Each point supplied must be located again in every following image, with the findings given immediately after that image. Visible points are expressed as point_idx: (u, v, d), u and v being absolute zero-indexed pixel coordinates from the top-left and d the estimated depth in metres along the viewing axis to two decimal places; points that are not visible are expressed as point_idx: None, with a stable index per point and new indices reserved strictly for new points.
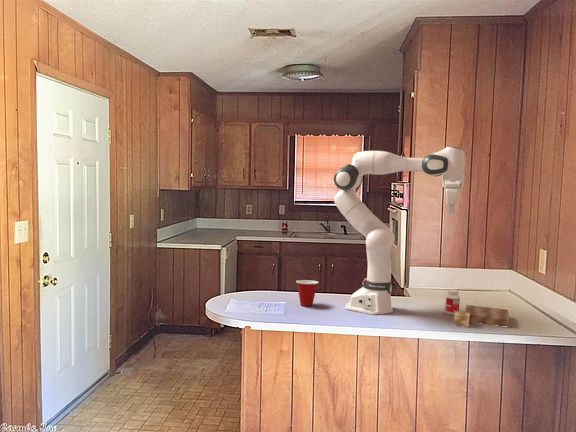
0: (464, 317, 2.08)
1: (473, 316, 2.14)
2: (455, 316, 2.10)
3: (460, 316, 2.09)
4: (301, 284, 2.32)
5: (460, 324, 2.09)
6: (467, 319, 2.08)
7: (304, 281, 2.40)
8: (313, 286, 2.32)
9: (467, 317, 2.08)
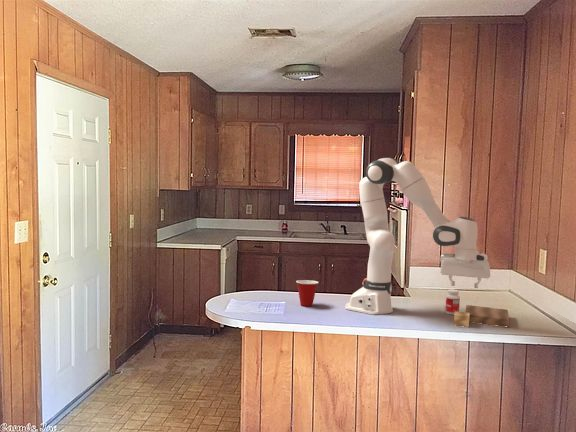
0: (464, 317, 2.08)
1: (473, 316, 2.14)
2: (455, 316, 2.09)
3: (460, 316, 2.09)
4: (301, 284, 2.32)
5: (460, 324, 2.09)
6: (467, 319, 2.08)
7: (304, 281, 2.40)
8: (313, 286, 2.32)
9: (467, 317, 2.08)
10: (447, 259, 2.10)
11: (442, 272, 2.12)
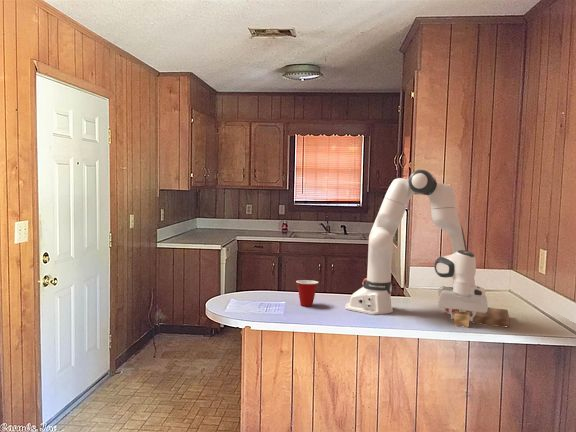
0: (464, 317, 2.08)
1: None
2: (455, 316, 2.09)
3: (460, 316, 2.09)
4: (301, 284, 2.32)
5: (460, 324, 2.09)
6: (467, 319, 2.08)
7: (304, 281, 2.40)
8: (313, 286, 2.32)
9: (467, 317, 2.08)
10: (445, 292, 2.12)
11: (440, 305, 2.13)
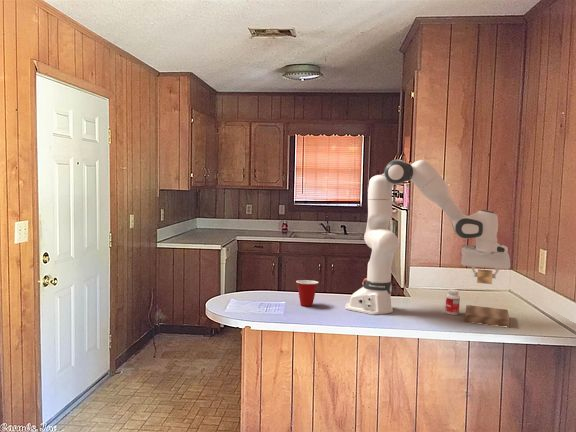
0: (487, 274, 2.14)
1: (473, 316, 2.14)
2: (478, 273, 2.15)
3: (483, 273, 2.14)
4: (301, 284, 2.32)
5: (483, 281, 2.14)
6: (490, 275, 2.13)
7: (304, 281, 2.40)
8: (313, 286, 2.32)
9: (490, 273, 2.13)
10: (468, 251, 2.17)
11: (463, 263, 2.18)
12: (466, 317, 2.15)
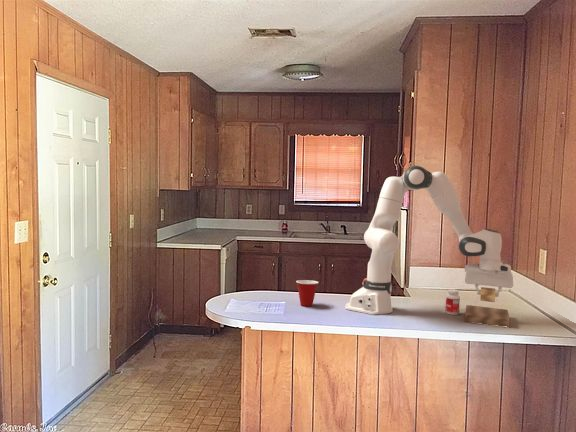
0: (490, 292, 2.17)
1: (473, 316, 2.14)
2: (482, 291, 2.18)
3: (486, 291, 2.17)
4: (301, 284, 2.32)
5: (486, 299, 2.17)
6: (493, 294, 2.16)
7: (304, 281, 2.40)
8: (313, 286, 2.32)
9: (493, 292, 2.16)
10: (472, 269, 2.20)
11: (466, 281, 2.21)
12: (466, 317, 2.15)
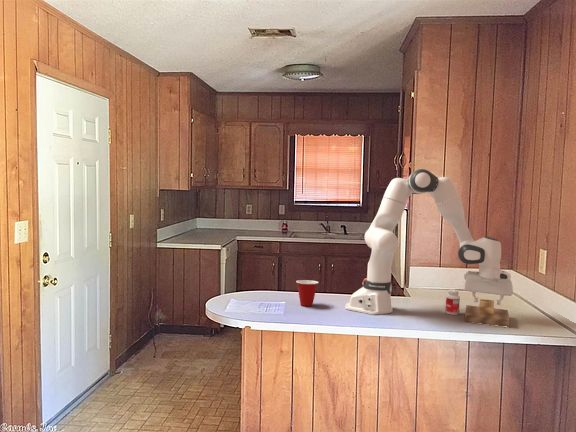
0: (489, 304, 2.17)
1: (473, 316, 2.14)
2: (480, 303, 2.19)
3: (485, 303, 2.18)
4: (301, 284, 2.32)
5: (485, 311, 2.18)
6: (492, 306, 2.17)
7: (304, 281, 2.40)
8: (313, 286, 2.32)
9: (492, 304, 2.17)
10: (471, 277, 2.20)
11: (466, 289, 2.22)
12: (466, 317, 2.15)
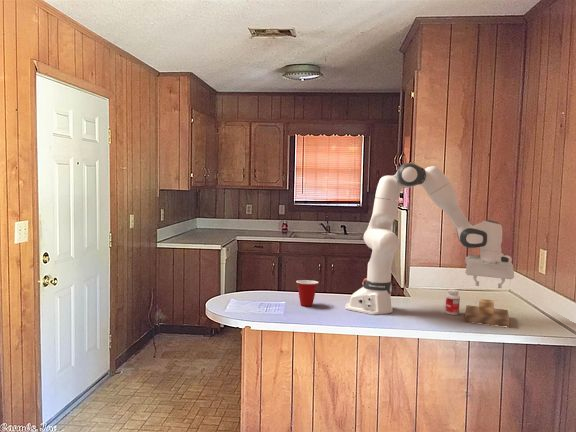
0: (489, 304, 2.17)
1: (473, 316, 2.14)
2: (480, 303, 2.19)
3: (485, 303, 2.18)
4: (301, 284, 2.32)
5: (485, 311, 2.18)
6: (491, 306, 2.17)
7: (304, 281, 2.40)
8: (313, 286, 2.32)
9: (491, 304, 2.17)
10: (472, 260, 2.20)
11: (467, 272, 2.21)
12: (466, 317, 2.15)
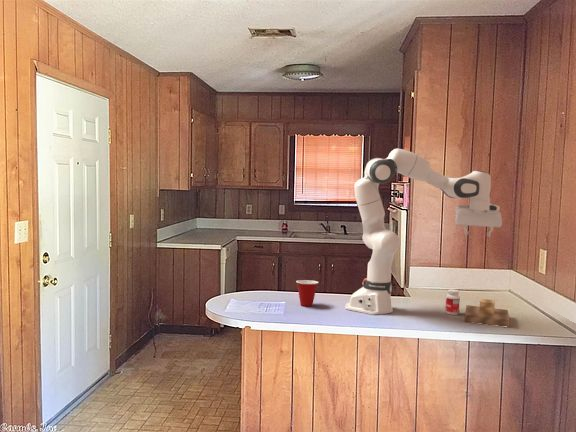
0: (489, 304, 2.18)
1: (473, 316, 2.14)
2: (480, 303, 2.19)
3: (485, 303, 2.18)
4: (301, 284, 2.32)
5: (485, 311, 2.18)
6: (492, 306, 2.17)
7: (304, 281, 2.40)
8: (313, 286, 2.32)
9: (492, 304, 2.17)
10: (462, 210, 2.27)
11: (457, 222, 2.28)
12: (466, 317, 2.15)
